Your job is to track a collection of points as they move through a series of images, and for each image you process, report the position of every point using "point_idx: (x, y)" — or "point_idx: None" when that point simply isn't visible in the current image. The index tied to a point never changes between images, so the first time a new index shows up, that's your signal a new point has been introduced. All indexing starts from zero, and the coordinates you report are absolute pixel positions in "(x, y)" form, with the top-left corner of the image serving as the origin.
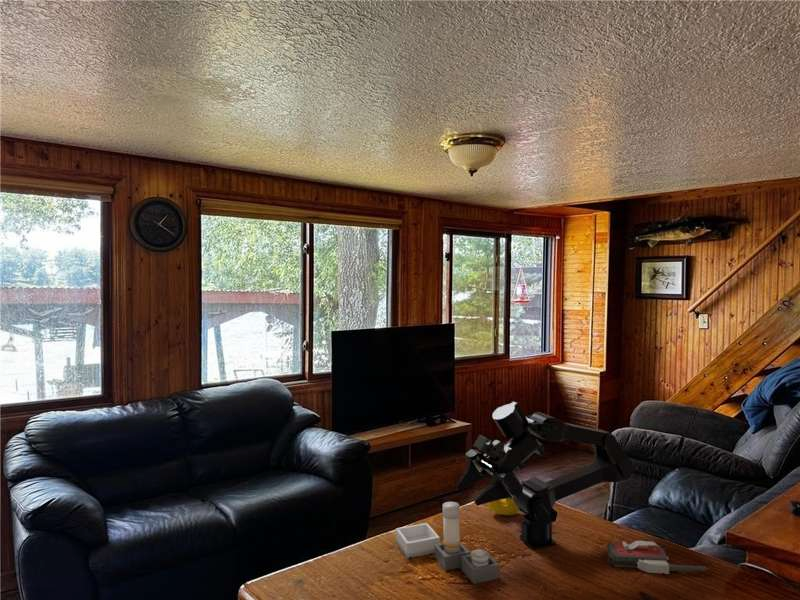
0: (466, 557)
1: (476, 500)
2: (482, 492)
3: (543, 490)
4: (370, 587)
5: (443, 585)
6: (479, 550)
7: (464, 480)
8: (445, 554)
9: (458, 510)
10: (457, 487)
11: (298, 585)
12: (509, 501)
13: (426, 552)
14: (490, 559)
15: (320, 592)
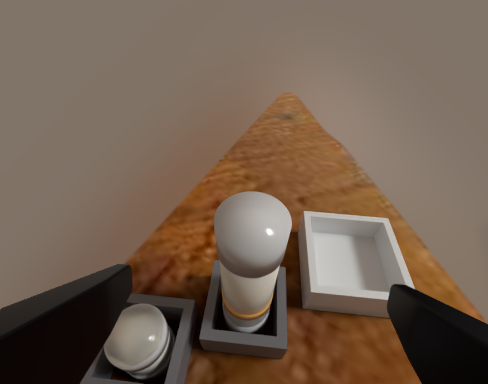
0: (183, 312)
1: (109, 267)
2: (63, 299)
3: None
4: (235, 162)
5: (171, 247)
6: (152, 346)
7: (456, 353)
8: None
9: (218, 244)
10: (394, 292)
11: (279, 115)
12: None
13: (301, 269)
14: (121, 381)
15: (254, 125)
